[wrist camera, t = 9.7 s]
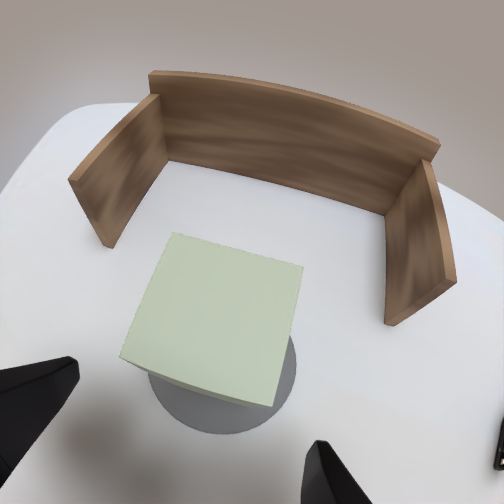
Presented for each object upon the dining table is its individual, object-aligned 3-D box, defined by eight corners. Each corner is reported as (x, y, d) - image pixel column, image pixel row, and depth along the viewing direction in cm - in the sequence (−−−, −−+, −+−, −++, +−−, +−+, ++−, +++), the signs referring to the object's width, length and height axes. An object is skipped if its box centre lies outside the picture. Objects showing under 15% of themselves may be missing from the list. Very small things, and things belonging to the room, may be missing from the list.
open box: (394, 326, 20) (477, 265, 12) (103, 245, 22) (57, 156, 13) (392, 211, 27) (438, 139, 18) (164, 152, 28) (154, 70, 20)
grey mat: (202, 459, 14) (202, 461, 14) (125, 338, 18) (122, 336, 18) (322, 376, 18) (325, 375, 17) (239, 271, 22) (239, 268, 21)
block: (248, 407, 16) (272, 406, 7) (173, 384, 16) (118, 356, 8) (266, 337, 19) (303, 267, 10) (196, 317, 19) (172, 232, 10)
